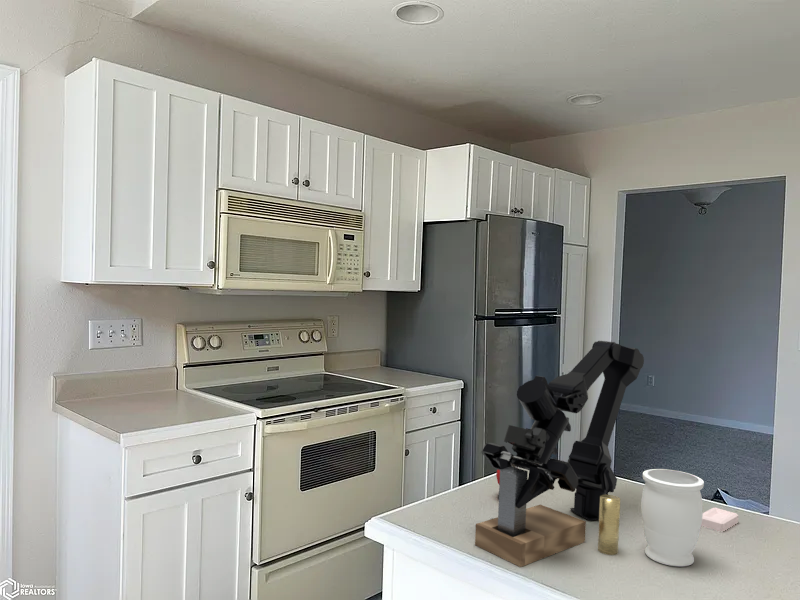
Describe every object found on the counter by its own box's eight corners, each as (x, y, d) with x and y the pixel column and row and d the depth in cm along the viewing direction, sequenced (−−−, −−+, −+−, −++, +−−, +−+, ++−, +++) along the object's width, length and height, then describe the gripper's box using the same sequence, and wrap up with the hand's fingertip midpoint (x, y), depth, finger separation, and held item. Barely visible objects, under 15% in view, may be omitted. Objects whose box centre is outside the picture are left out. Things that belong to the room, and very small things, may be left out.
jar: (696, 576, 106) (700, 489, 105) (633, 560, 111) (637, 477, 111) (703, 554, 115) (707, 475, 114) (644, 540, 120) (648, 464, 120)
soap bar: (695, 526, 130) (696, 515, 130) (712, 517, 136) (713, 506, 136) (722, 534, 126) (723, 522, 126) (738, 524, 132) (739, 513, 132)
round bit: (608, 545, 117) (610, 493, 117) (622, 553, 114) (624, 500, 114) (593, 548, 116) (595, 495, 115) (607, 556, 112) (609, 502, 112)
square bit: (509, 532, 116) (511, 466, 115) (525, 538, 113) (527, 471, 113) (497, 537, 113) (499, 469, 113) (513, 543, 111) (516, 474, 110)
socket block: (539, 523, 127) (540, 504, 127) (585, 541, 118) (585, 521, 118) (474, 545, 115) (475, 523, 115) (520, 567, 107) (521, 544, 106)
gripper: (489, 401, 122) (450, 466, 115) (572, 418, 109) (534, 493, 101) (511, 435, 128) (475, 499, 120) (593, 455, 114) (558, 528, 107)
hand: (508, 503), depth 112 cm, fingers closed on square bit, 3 cm apart
